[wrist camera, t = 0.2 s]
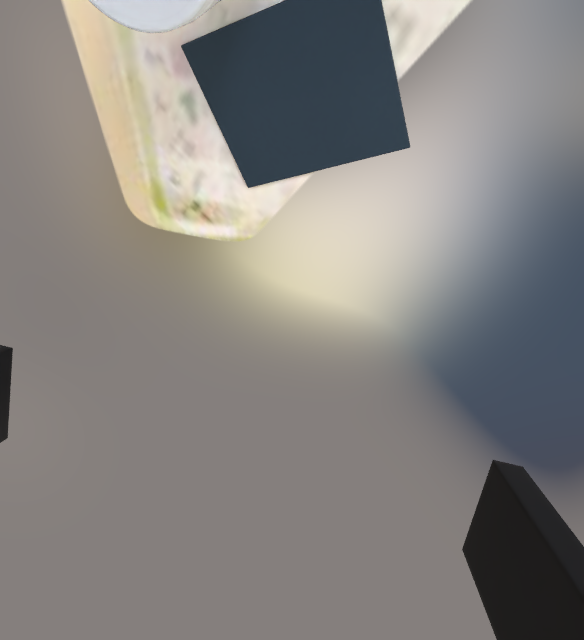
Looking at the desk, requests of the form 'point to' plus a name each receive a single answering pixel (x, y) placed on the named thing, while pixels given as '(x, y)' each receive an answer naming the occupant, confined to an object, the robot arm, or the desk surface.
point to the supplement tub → (154, 13)
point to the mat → (302, 87)
